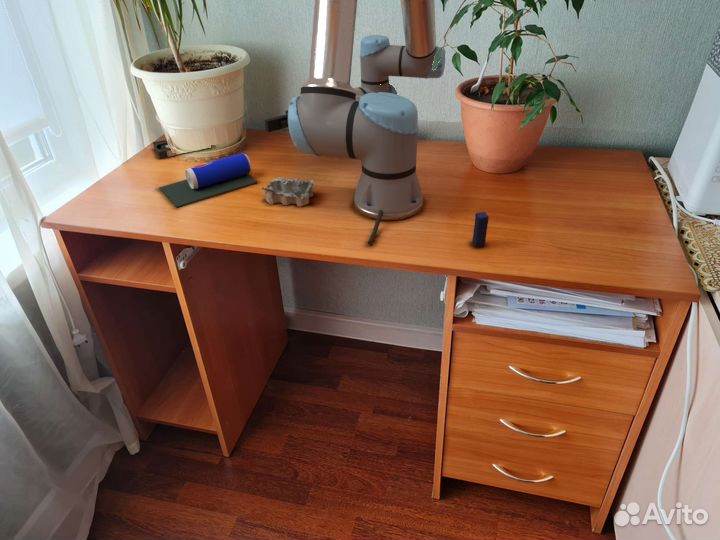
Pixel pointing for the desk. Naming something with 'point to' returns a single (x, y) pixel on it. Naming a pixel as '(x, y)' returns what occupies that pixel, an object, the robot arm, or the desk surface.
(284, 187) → the egg carton
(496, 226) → the desk surface
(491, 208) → the desk surface
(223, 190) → the mat
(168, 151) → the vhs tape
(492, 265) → the desk surface
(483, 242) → the eraser
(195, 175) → the beverage can
